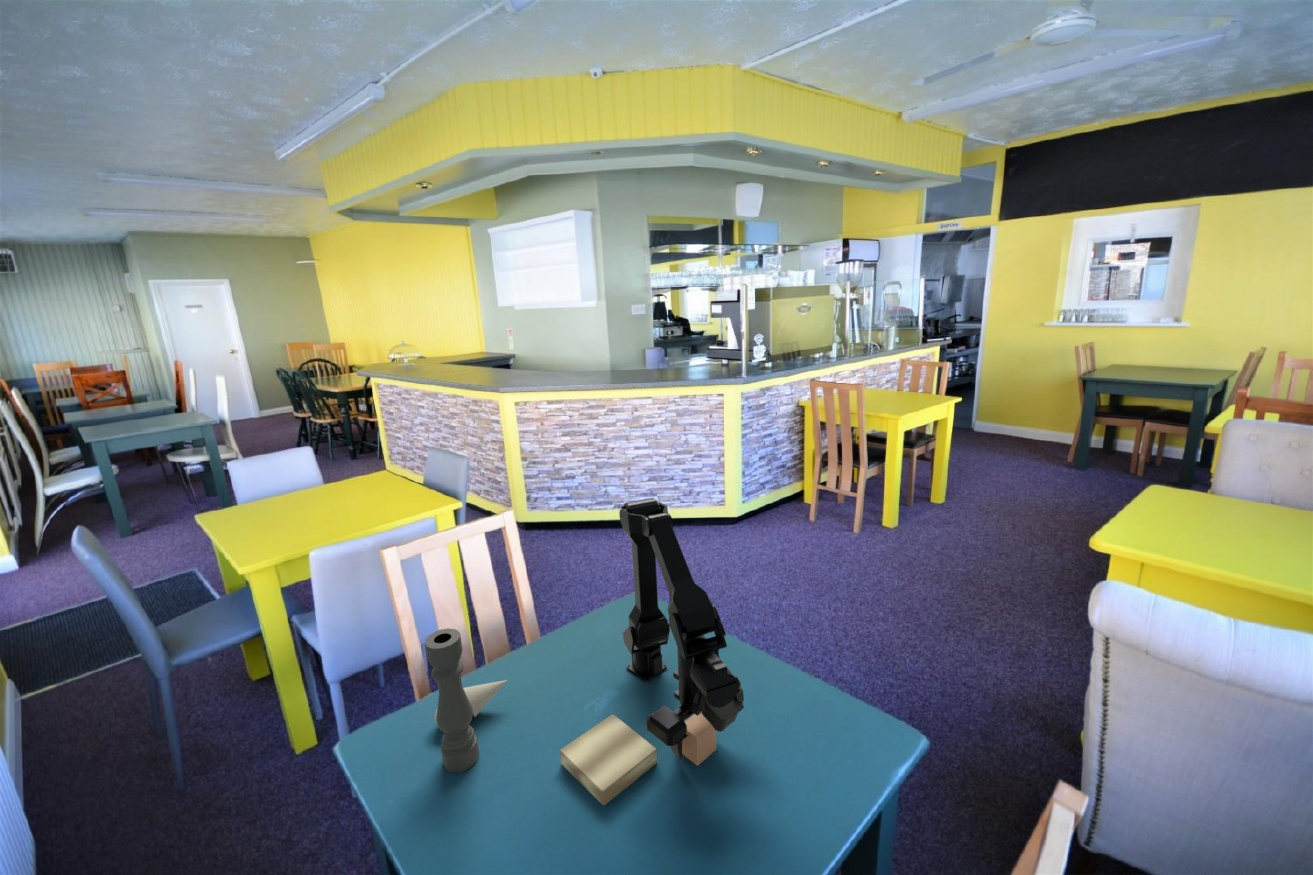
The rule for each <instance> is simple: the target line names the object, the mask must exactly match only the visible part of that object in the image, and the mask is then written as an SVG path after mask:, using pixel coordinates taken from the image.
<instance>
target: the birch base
mask: <svg viewBox="0 0 1313 875" xmlns="http://www.w3.org/2000/svg"><path fill="white" fill-rule="evenodd" d="M559 752H560V754H559V755H560V763H561V765H562V766H563V767H564V768H565V769H566V770H567V771H568V772H569V773H570V774H571V775H572V776H573V777H574V778H575V779H576V780H577V781H578V782H579V783H580V784H581V786H583V787H584V788H585V789H586V790H587V791H588V792H589V793H590V794H591V795H592V796H593V797H594V798H595V799H596V800H597V801H598V802H599V803H600V804H601V805H602V806H604V807H605V806H606V805H607V804H608V803H610V802H611V800H613V799H614V798H616V797H617V796H618V795H619V794H621V793H622V792H623V791H624V790H625V789H627V788H628V787H629V786H631V785H632V784H633V783H634V782H635V781H637V780H638V779H639V778H640V777H641V776H643V775H644V774H645V773H647V772H648V771H649V770H650V769H651V768H653V767H654V766H655V765H656V764H658V755H657V754H658V753H657V752H658V751H657V748H656V747H655V746H653V745H652V744H651V743H650V742H649V741H647V740H646V738H643V736H641V735H640V734H639V733H637V732H636V731H635V730H634V729H632V728H631V727H629V726H628V725H627V724H626V723H625V722H624V721H622V720H621V719H620V718H618V717H617V716H616V715H615V714H614V713H612V714H611V715H609V716H608V717H606V718H605V719H604V720H602V721H600V722H599V723H598V724H596V725H595V726H593V727H592V728H590V729H589V730H587V731H586V732H585V733H583V734H582V735H579V736H578V737H577V738H575V739H574V740H572V741H571V742H569V743H568V744H567V745H565V746H564V747H562V748H561V749H560V750H559Z"/></svg>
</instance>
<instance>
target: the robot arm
mask: <svg viewBox="0 0 1313 875" xmlns="http://www.w3.org/2000/svg"><path fill="white" fill-rule="evenodd" d="M618 514H619V516H618V517H619V521H620V523H621V526H622V530H623V531H624V533H626V535H627V536H628V538H629V539H630V540H631V550H632V568H633V570H632V571H633V579H634V580H633V584H634V597H635V598H634V599H635V600H634V602H635V604H634V606H633V608H632V609H631V611H630V613H629V615H628V627H627V628H626V629H625V630H624V631H623V632H622V639H623V643H624V645H625V647H626V648H627V650H628V652H629V654H630V655H631V663H629V664H627V665H626V669H627V670H628V671H629V672H630V673H633V674H635V675H636V676H637V677H638V678H640V679H641V680H643V681H644V682H647V681H649V680H651V679H652V678H654V677H655V676H657V675H659V674H660V673H661V672H664V670H666V669H667V667H668V665H667V664H666V663H664V662H663V654H662V647H661V646H664V645H665V646H666V645H668V641H669V638H670V631H671V633H672V636H673V639H674V641H675V644H676V646H677V649H676V650H677V670H675V671H673V673H672V675H673V676H672V677H673V678H674V679H675V680H677V681H678V689H677V690H675V691H673V698H675V699H676V700H677V701H679V707H677V708H676V709H675V710H674V711H673V710H672V709H670V708H669V707H668V706H666V705H662V706H660V707H659V708H658V709H656V710H655V711H654V712H652V713H650V714H649V715H648V716H647V717H646V730H647V731H648V732H649V733H651V734H652V736H654V737H656V738H657V739H658V740H659V741H661V742H662V743H663V744H665V745H666V746H668V747H670V749H671V750H672V752H673V754H674V755H675V757H676V758H678V759H679V760H681V759H682V756H683V754H682V740H684V739H685V738H686V737H687V736H688V735H687V734H686V732H687V725H686V723H685V721H687V720H688V719H689V718H690V717H692V716H693V715H694V714H695V715H697V716H698V715H699V714H701V713H702V715H703V716H704V717H705V718H706V719H707V720H708V721H709V722H710V723H711V725H712V726H713V728H714V729H715V730H716V732H724V731H725V730H726V729H727V727H729V726H730V725H731V724H733V723H734V722H735V720H736V718H738V717H737V716H738V714H739V713H740V712H741V711H742V710H744V708H745V707H744V701H745V696H744V690H743V688H742V685H741V681H740V679H739V677H738V676H737V675H735V674H733V673H732V671H731V670H730V669H729V668H728V666H727V665H726V664H725V662H724V661H723V660H722V659H721V657H720V655H719V654H720V650H722V649H726V648H727V647H728V644H727V641H726V635H727V634H726V629H725V628H724V625H723V622H722V620H721V617H720V614H719V611H718V610H717V609H716V606H715V604H714V603H712V601H711V599H710V597H709V594H708V592H706V590H704V589H703V588H702V587H701V586H699V585H698V584H696V583H695V580H694V578H693V576H692V573H691V571H690V568H689V566H688V563H687V561H686V558H685V556H684V553H683V551H682V548H681V545H680V543H679V541H678V538H677V535H676V532H675V530H674V520H673V516H672V515H671V514H670V513H669V510H668V505H665V504H664V503H662V502H660V501H659V502H658V500H657V499H656V498H654V497H651V498H645V499H639V500H634V501H629V502H628V501H627V502H625V503H624V504H623V505H622V506H621V509H619V512H618ZM657 564H658V566H659V569H660V572H661V574H662V577H663V581H664V583H665V585H666V589H667V591H668V594H669V601H668V604H667V613H668V619H667V617H666V615H664V613H663V612H662V610H661V609H660V607H659V599H658V598H659V594H658V575H657ZM711 633H713V634H714V635H715V636H712V637H708V638H707V637H706V636H705V635H708V634H711ZM635 675H634V676H635Z"/></svg>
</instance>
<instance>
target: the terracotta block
mask: <svg viewBox="0 0 1313 875" xmlns="http://www.w3.org/2000/svg"><path fill="white" fill-rule="evenodd" d="M685 723H686V725H687V732H686V734H687V735H688V736H687V737H686V738H685V739H684V740H682V756H684V757H685V758H686V759H688V760H689V761H690V762H692V763H693V764H694V765H696V766H700V764H701V763H703V762H704V761H705V760H706V759H707V758H708V757H709V756H711V755H712V754H713V753H715V752H716V750H717V731H716V730H715V729H714V728H713V726H712V725H711V723H710V722H709V721H708V720H707V719H706V718H705V717H704V716H703V715H702V713H701V714H699V715H698V716H697V715H695V714H694V715H693V716H692V717H690V718H689V719H688V720H687V721H685Z"/></svg>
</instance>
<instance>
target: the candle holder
mask: <svg viewBox="0 0 1313 875" xmlns="http://www.w3.org/2000/svg"><path fill="white" fill-rule="evenodd" d="M424 647H425V653H426V658H427V659H426V660H427V661H428V663H429V664H430V666H431V667H433V668H432V670H431V677H432V679H433V680H434V681H435V682H436V683H437V689H438V699H437V700H438V701H437V708H436V709H437V717H436V722H437V724H438V725H437V724H436V725H437V727H438V728H439V730H440V731H442V732H443V736H442V737H441V750H440V752H441V757H442V762H443V763H442V764H443V767H444V769H445V770H446V772H449V773H455V774H458V773H463V772H465V771H468V770H469V769H471V768H472V767H473V766H474V765H475V764H477V763H478V762H477V761H478V760H479V759H480V749H479V741H478V737H477V735H476V733H475V732H476V731H475V729H474V727H473V726H472V725H470V724H471V722H472V719H473V717H474V716H473V708H472V706H471V704H470V702H469V700H468V698H467V695H466V693H465V691H464V689H463V688H464V686H463V682H462V675H461V674H462V673H463V671H464V663H463V662H462V661H461V657H462V654H463V645H462V637H461V632H460V631H459V630H458V629H456V628H442V629H441V628H440V629H438V630H436V631H434V632H432V633H431V634H429V635H428V636H427V637H426V638H425V641H424ZM436 722H435V723H436Z"/></svg>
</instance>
